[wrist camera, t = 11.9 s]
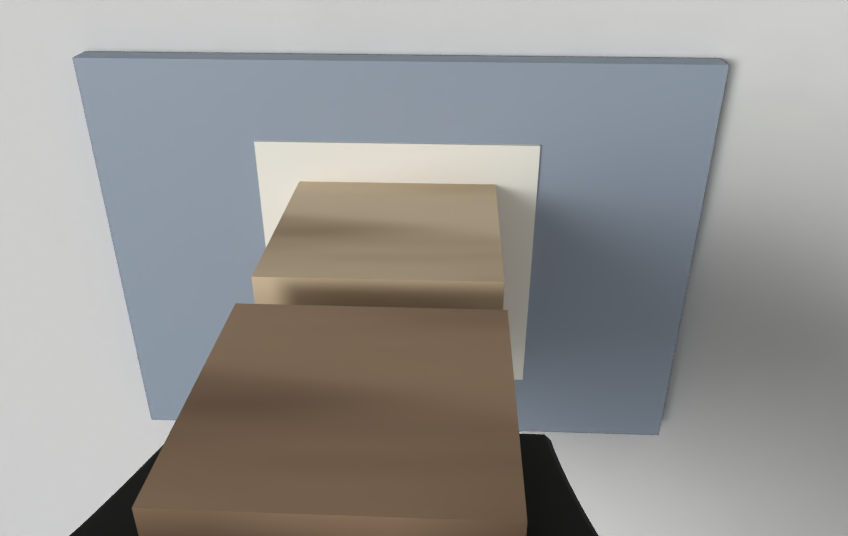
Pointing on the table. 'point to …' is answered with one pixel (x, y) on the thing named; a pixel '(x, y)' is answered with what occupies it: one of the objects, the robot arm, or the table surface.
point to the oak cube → (385, 247)
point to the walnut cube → (345, 428)
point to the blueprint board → (418, 163)
